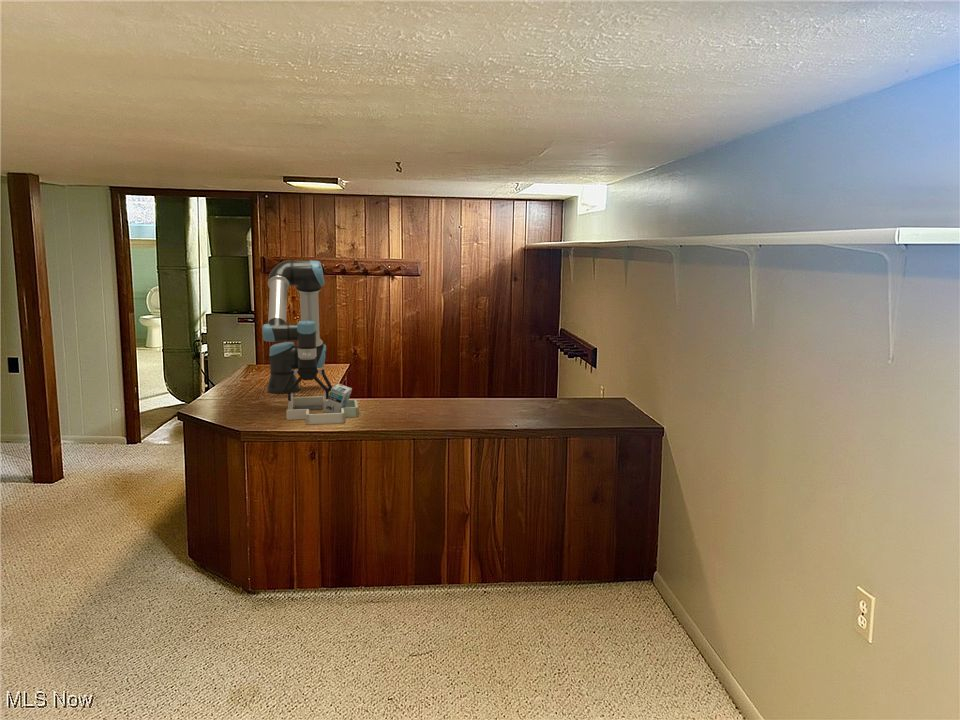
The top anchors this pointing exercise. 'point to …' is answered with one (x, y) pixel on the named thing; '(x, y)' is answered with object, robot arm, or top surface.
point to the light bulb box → (338, 398)
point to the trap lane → (325, 418)
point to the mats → (309, 407)
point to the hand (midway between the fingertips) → (308, 407)
